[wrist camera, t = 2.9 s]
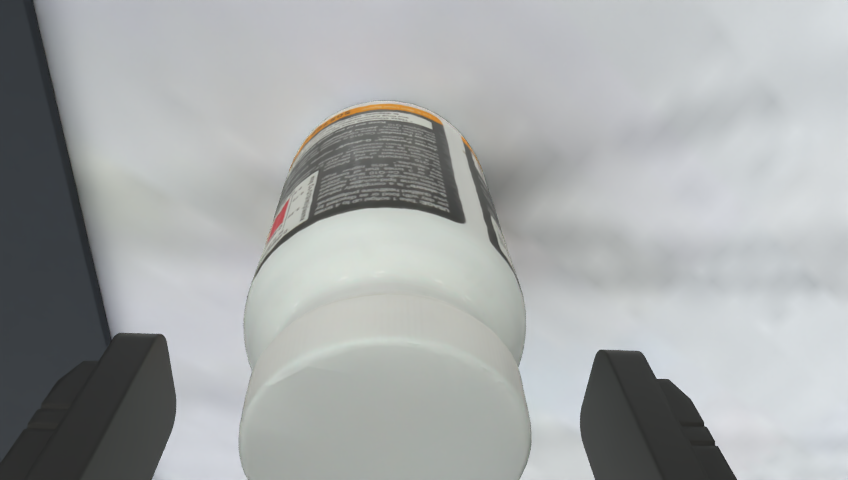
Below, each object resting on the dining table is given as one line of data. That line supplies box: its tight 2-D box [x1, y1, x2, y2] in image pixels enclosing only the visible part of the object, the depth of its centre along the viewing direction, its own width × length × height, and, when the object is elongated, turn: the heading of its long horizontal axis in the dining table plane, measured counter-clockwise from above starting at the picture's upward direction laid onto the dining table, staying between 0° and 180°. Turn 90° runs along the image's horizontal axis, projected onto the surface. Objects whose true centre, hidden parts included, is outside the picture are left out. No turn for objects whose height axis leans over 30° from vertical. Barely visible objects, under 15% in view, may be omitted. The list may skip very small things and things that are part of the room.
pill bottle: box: [239, 101, 531, 480], centre depth 14 cm, size 6×6×10 cm
